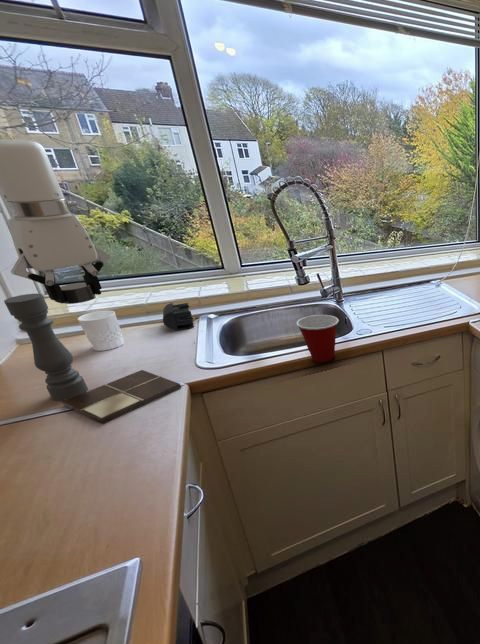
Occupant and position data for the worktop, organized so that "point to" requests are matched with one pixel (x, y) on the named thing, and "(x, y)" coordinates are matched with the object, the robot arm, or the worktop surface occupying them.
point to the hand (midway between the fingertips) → (78, 296)
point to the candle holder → (47, 346)
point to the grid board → (121, 396)
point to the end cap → (177, 316)
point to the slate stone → (78, 293)
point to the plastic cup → (319, 336)
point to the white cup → (102, 329)
